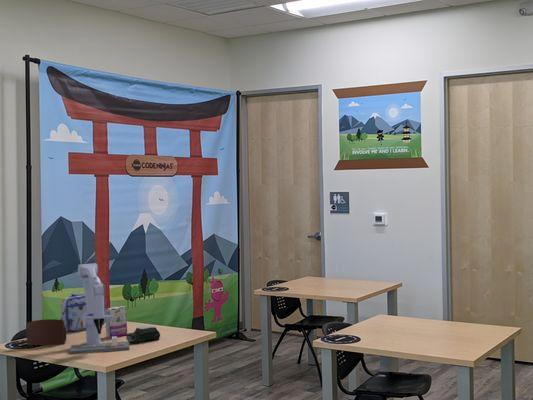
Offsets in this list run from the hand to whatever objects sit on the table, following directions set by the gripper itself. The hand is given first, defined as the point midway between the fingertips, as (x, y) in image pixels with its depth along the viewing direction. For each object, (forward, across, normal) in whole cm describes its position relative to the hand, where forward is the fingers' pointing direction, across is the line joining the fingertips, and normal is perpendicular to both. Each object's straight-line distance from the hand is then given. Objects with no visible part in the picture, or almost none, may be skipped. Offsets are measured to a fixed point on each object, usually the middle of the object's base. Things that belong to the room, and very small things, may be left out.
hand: (99, 333), depth 369 cm
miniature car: (+9, +23, +15) cm, 29 cm away
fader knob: (+6, +7, 0) cm, 10 cm away
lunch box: (+9, -12, +61) cm, 63 cm away
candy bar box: (+9, +8, +33) cm, 35 cm away
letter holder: (+9, -29, +26) cm, 40 cm away
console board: (+8, 0, +2) cm, 9 cm away
